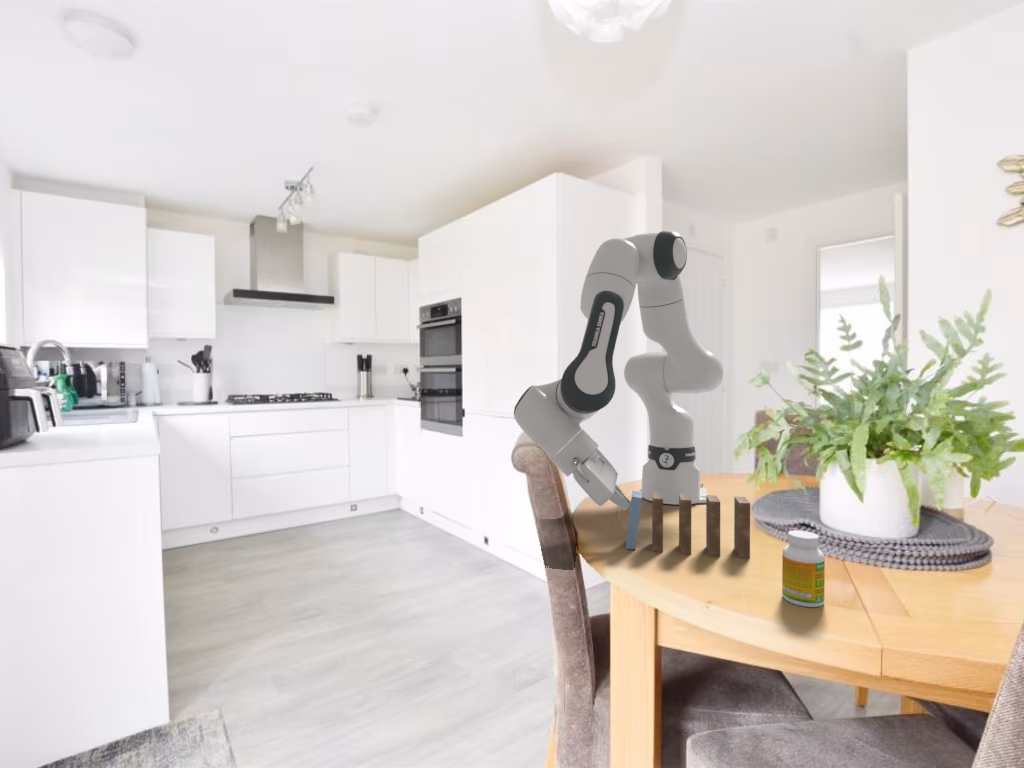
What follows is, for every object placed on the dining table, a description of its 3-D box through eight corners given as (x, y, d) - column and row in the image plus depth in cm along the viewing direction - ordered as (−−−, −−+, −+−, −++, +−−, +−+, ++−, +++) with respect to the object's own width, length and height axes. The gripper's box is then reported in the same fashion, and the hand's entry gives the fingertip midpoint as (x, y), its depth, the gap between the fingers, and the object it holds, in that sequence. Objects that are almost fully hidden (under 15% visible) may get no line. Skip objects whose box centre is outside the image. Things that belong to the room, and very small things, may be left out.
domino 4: (709, 555, 95) (709, 501, 95) (706, 546, 100) (706, 495, 100) (720, 556, 94) (720, 501, 94) (716, 547, 99) (716, 495, 99)
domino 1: (625, 548, 99) (632, 496, 98) (626, 540, 103) (632, 490, 103) (635, 550, 98) (642, 498, 98) (635, 541, 103) (641, 492, 102)
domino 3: (680, 553, 96) (681, 499, 96) (678, 545, 101) (679, 493, 101) (691, 554, 96) (691, 500, 95) (688, 545, 100) (688, 494, 100)
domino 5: (739, 558, 94) (739, 502, 94) (734, 548, 99) (734, 496, 98) (749, 558, 93) (750, 503, 93) (744, 549, 98) (744, 496, 98)
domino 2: (652, 551, 97) (653, 498, 97) (652, 543, 102) (652, 492, 102) (662, 552, 97) (663, 498, 97) (661, 543, 102) (661, 492, 101)
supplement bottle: (821, 611, 72) (822, 542, 72) (779, 601, 76) (779, 535, 75) (826, 598, 77) (826, 532, 77) (785, 589, 80) (786, 526, 80)
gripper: (582, 452, 92) (639, 509, 90) (592, 437, 112) (639, 485, 110) (557, 476, 93) (613, 533, 91) (572, 457, 113) (618, 504, 111)
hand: (627, 507), depth 101 cm, fingers closed
